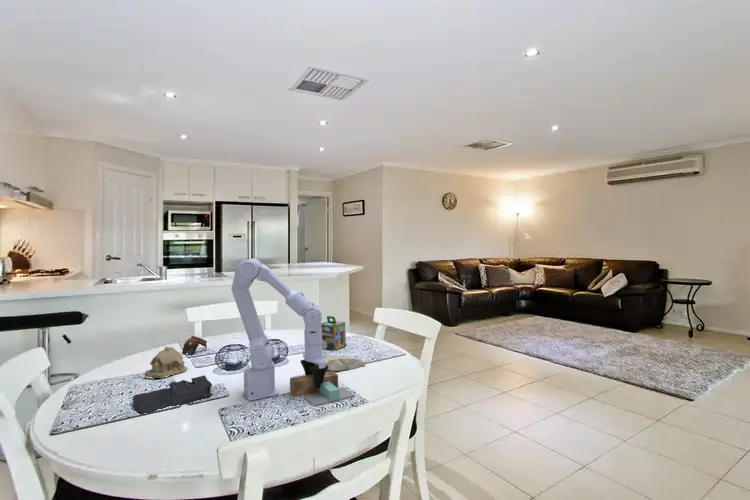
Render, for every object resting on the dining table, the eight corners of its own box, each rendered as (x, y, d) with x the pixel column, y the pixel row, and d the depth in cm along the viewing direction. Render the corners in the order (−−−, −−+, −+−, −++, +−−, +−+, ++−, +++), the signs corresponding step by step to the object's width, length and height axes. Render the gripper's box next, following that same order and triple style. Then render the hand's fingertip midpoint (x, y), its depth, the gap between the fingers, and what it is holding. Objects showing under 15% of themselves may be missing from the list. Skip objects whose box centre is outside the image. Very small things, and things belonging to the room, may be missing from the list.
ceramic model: (169, 366, 154) (168, 341, 154) (192, 368, 151) (192, 343, 151) (139, 378, 140) (138, 351, 140) (164, 381, 137) (164, 353, 137)
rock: (303, 367, 152) (319, 375, 140) (303, 355, 153) (320, 362, 140) (350, 362, 164) (369, 368, 151) (350, 351, 164) (369, 356, 152)
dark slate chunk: (129, 401, 121) (128, 386, 121) (202, 384, 136) (202, 370, 136) (138, 418, 110) (138, 401, 110) (217, 397, 124) (217, 382, 124)
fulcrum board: (313, 406, 116) (313, 395, 116) (303, 397, 122) (303, 386, 122) (354, 396, 123) (354, 385, 123) (343, 388, 130) (343, 378, 130)
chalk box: (346, 346, 181) (346, 315, 180) (334, 351, 173) (333, 318, 172) (330, 343, 186) (330, 313, 185) (318, 348, 178) (318, 316, 177)
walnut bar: (293, 398, 123) (293, 382, 123) (290, 393, 127) (289, 378, 127) (338, 389, 129) (337, 375, 129) (333, 385, 133) (333, 370, 133)
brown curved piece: (180, 352, 175) (189, 334, 178) (201, 359, 178) (209, 342, 181) (179, 352, 164) (189, 333, 168) (201, 359, 167) (210, 341, 170)
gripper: (333, 346, 123) (334, 388, 124) (316, 337, 136) (317, 375, 136) (312, 349, 120) (313, 393, 120) (296, 340, 132) (297, 379, 132)
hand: (314, 384), depth 128 cm, fingers open, 7 cm apart
